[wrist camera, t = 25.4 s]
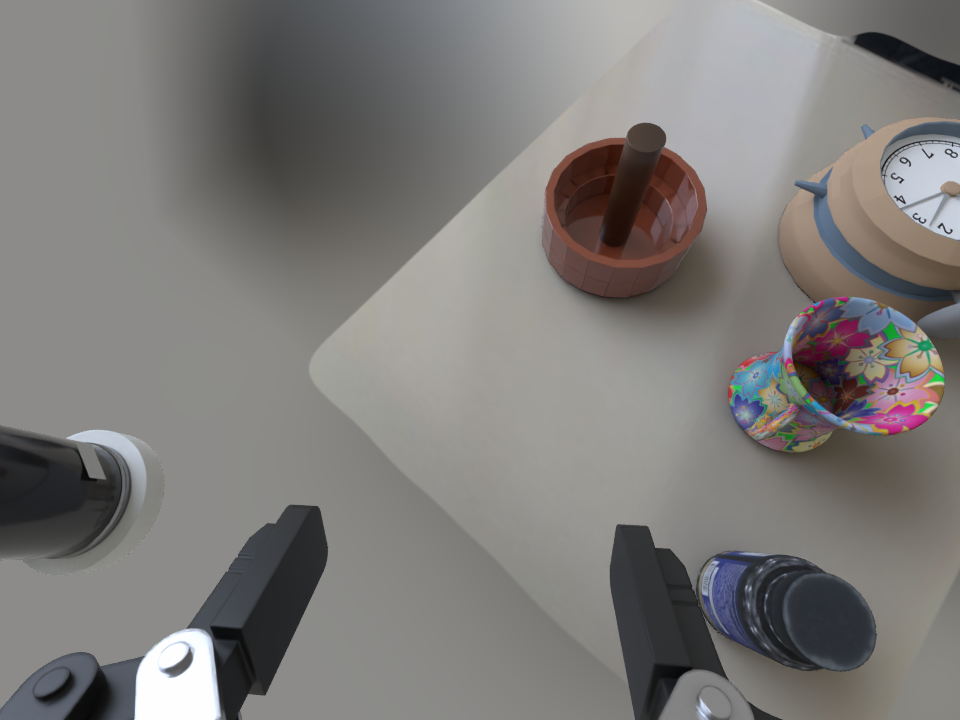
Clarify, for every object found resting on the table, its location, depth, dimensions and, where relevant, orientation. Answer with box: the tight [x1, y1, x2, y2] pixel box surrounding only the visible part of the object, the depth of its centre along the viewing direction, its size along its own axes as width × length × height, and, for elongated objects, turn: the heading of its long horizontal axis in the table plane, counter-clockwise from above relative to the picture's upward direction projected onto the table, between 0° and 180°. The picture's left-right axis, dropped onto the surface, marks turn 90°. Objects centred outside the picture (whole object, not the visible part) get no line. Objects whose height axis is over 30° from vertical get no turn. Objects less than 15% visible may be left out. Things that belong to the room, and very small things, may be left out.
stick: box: [599, 123, 666, 247], centre depth 40 cm, size 3×3×12 cm
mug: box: [728, 297, 945, 452], centre depth 34 cm, size 12×9×11 cm
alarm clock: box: [779, 117, 960, 338], centre depth 39 cm, size 17×9×23 cm
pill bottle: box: [696, 551, 877, 672], centre depth 30 cm, size 6×6×11 cm
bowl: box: [542, 138, 707, 297], centre depth 43 cm, size 14×14×6 cm
